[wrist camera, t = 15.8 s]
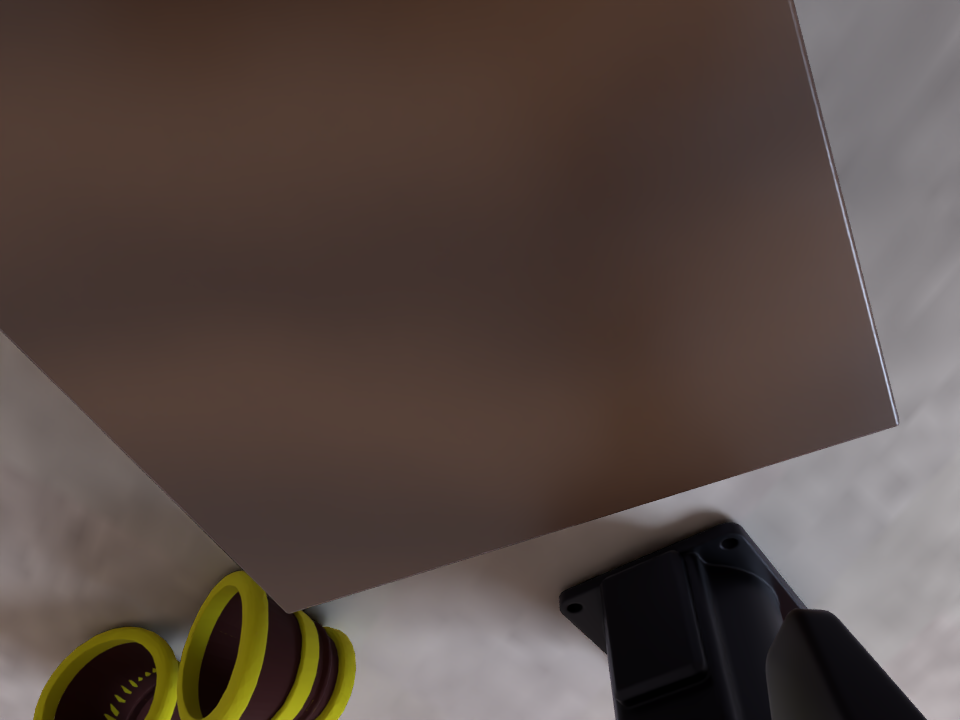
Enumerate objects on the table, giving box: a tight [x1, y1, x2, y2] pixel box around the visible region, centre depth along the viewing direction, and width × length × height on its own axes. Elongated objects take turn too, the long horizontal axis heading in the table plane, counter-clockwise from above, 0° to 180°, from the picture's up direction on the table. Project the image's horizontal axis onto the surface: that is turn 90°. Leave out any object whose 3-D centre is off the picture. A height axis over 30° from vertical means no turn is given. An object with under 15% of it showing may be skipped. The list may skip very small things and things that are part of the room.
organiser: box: [0, 0, 899, 614], centre depth 17 cm, size 16×14×6 cm
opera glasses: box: [33, 571, 356, 720], centre depth 30 cm, size 10×5×5 cm, turn 123°
